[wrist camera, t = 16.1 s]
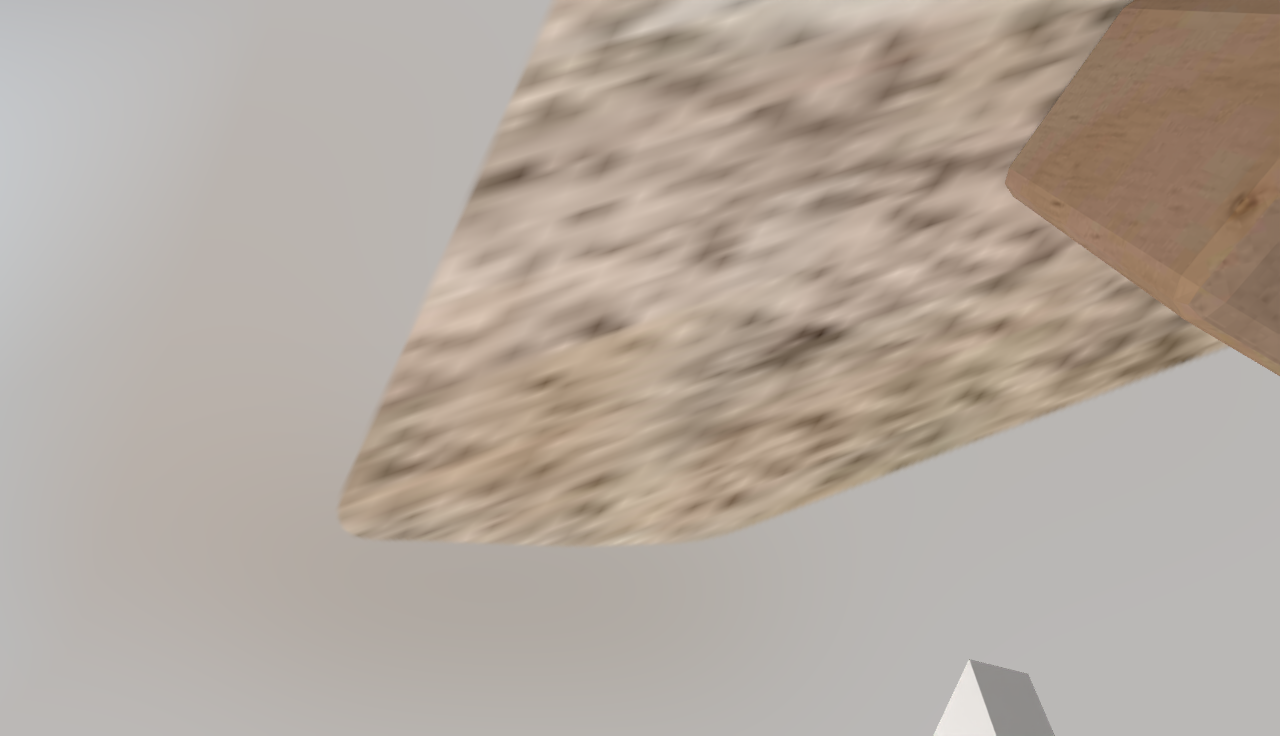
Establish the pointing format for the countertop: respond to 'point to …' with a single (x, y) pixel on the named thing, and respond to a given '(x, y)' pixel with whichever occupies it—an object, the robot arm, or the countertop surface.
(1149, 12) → the wooden block
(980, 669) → the robot arm
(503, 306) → the countertop surface
